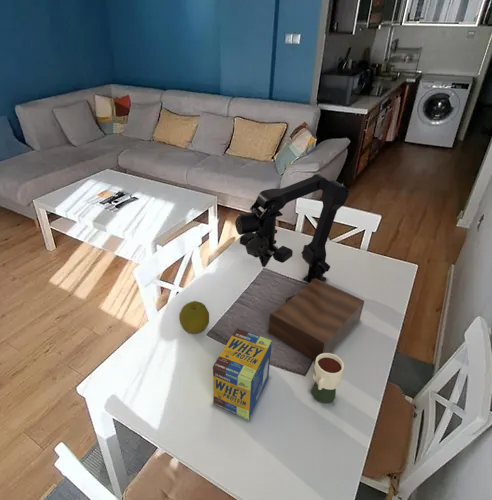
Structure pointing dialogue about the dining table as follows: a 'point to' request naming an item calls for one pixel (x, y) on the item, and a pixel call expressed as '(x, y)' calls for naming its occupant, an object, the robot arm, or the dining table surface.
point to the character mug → (327, 377)
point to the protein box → (241, 372)
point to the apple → (194, 317)
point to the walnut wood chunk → (316, 318)
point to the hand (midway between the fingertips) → (264, 266)
